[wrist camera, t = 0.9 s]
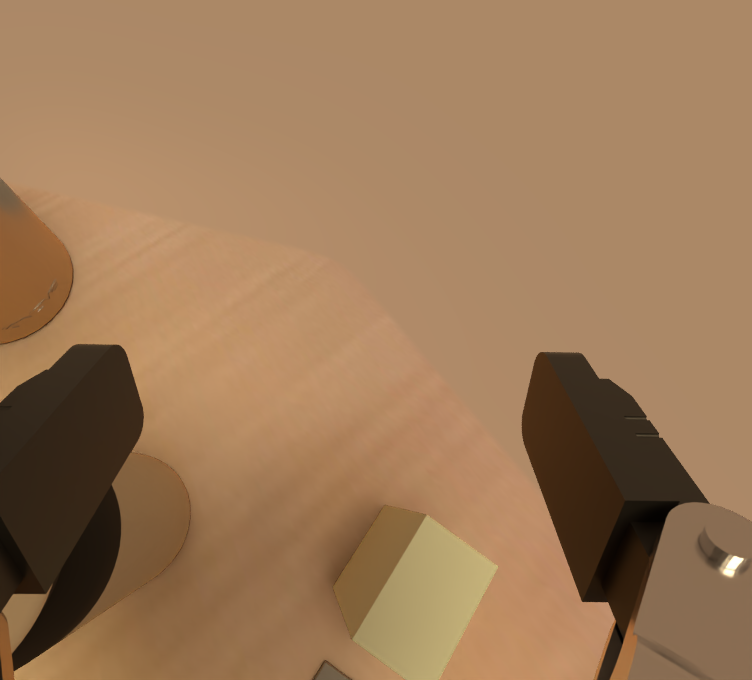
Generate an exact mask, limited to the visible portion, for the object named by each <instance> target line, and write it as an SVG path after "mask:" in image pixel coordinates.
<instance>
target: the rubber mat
mask: <svg viewBox="0 0 752 680" xmlns="http://www.w3.org/2000/svg"><path fill="white" fill-rule="evenodd" d="M314 680H351V679H350V678H349V677H347V676H346V675H345V674H343V673H342V672H341V671H339V670H338V669H337V668H335V667H334V666H332V665H331V664H330V663H328V662H327V661H326V660H325V661H324V663H323V665H322V666H321V668H320V670H319V671H318V673H317V675H316V676H315V678H314Z"/></svg>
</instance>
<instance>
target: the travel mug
mask: <svg viewBox="0 0 752 680" xmlns="http://www.w3.org/2000/svg"><path fill="white" fill-rule="evenodd" d="M189 522H190V503H189V498H188V494H187V491H186V488H185V486H184V484H183V482H182V481H181V479H180V478H179V476H178V475H177V474H176V473H175V472H174V471H173V470H172V469H171V468H170V467H169V466H168V465H166V464H165V463H163V462H162V461H160V460H158V459H156V458H153V457H150V456H147V455H142V454H137V453H132V452H131V453H130V454H129V456H128V458H127V459H126V461H125V463H124V464H123V466H122V468H121V470H120V471H119V473H118V475H117V476H116V478H115V480H114V481H113V483H112V485H111V486H110V488H109V490H108V491H107V493H106V495H105V496H104V498H103V500H102V501H101V503H100V505H99V506H98V508H97V510H96V511H95V513H94V515H93V516H92V518H91V520H90V522H89V523H88V525H87V527H86V528H85V530H84V532H83V533H82V535H81V537H80V538H79V540H78V542H77V543H76V545H75V547H74V548H73V550H72V552H71V553H70V555H69V557H68V558H67V560H66V562H65V563H64V565H63V567H62V568H61V570H60V572H59V574H58V575H57V577H56V579H55V580H54V582H53V584H52V585H51V587H50V589H49V590H48V592H47V594H13V595H12V597H11V598H10V600H9V601H8V603H7V604H6V606H5V607H4V609H3V610H2V612H3V613H4V615H5V617H6V618H7V622H8V628H9V636H10V645H11V653H12V662H13V670H14V671H15V670H17V669H18V668H20V667H22V666H23V665H25V664H27V663H28V662H30V661H31V660H33V659H34V658H36V657H37V656H39V655H40V654H42V653H43V652H45V651H46V650H48V649H49V648H51V647H52V646H54V645H55V644H57V643H58V642H60V641H61V640H63V639H64V638H66V637H67V636H68V635H70V634H71V633H73V632H74V631H76V630H77V629H79V628H80V627H82V626H83V625H85V624H86V623H88V622H89V621H91V620H92V619H94V618H95V617H97V616H98V615H100V614H101V613H103V612H104V611H106V610H107V609H109V608H110V607H112V606H113V605H115V604H116V603H117V602H119V601H120V600H122V599H123V598H125V597H126V596H128V595H129V594H131V593H132V592H134V591H135V590H137V589H138V588H140V587H141V586H143V585H144V584H146V583H147V582H149V581H150V580H152V579H153V578H154V577H156V576H157V575H159V574H160V573H161V572H162V571H163V570H164V569H165V568H166V567H167V566H168V565H169V564H170V563H171V562H172V561H173V559H174V558H175V557H176V555H177V554H178V552H179V550H180V549H181V547H182V545H183V543H184V541H185V538H186V535H187V532H188V528H189Z"/></svg>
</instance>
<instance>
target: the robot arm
mask: <svg viewBox="0 0 752 680" xmlns="http://www.w3.org/2000/svg"><path fill="white" fill-rule="evenodd" d="M72 274H73V268H72V264H71V259H70V256H69V254H68V252H67V250H66V248H65V246H64V245H63V244H62V243H61V241H60V240H59V239H58V238H57V237H56V236H55V235H54V234H53V233H52V232H51V231H50V230H49V228H48V227H47V226H46V225H45V224H44V223H43V222H42V221H41V220H40V219H39V218H38V217H37V216H36V215H35V214H34V213H33V211H32V210H31V209H30V208H29V207H28V206H27V205H26V204H25V203H24V202H23V201H22V200H21V199H20V198H19V197H18V196H17V195H16V194H15V193H14V192H13V191H12V189H11V188H10V187H9V186H8V185H7V184H6V183H5V182H4V181H3V180H2V179H1V178H0V344H2V343H8V342H11V341H14V340H17V339H20V338H23V337H26V336H28V335H29V334H31V333H33V332H35V331H37V330H39V329H40V328H41V327H43V326H44V325H45V324H46V323H48V322H49V321H50V320H51V319H52V318H53V317H54V316H55V315H56V314H57V312H58V311H59V310H60V309H61V308H62V306H63V304H64V302H65V301H66V299H67V297H68V295H69V292H70V288H71V284H72ZM143 418H144V416H143V407H142V404H141V400H140V397H139V394H138V390H137V387H136V384H135V380H134V377H133V374H132V370H131V367H130V364H129V361H128V357H127V354H126V352H125V350H124V349H123V348H122V347H121V346H119V345H96V344H77V345H74V346H72V347H71V348H70V349H69V350H68V351H67V352H66V353H65V354H64V355H63V356H62V357H61V358H60V359H59V360H58V361H57V362H56V363H55V364H54V365H53V366H52V367H51V368H50V369H49V370H45V371H43V372H41V373H39V374H38V375H36V376H34V377H33V378H31V379H29V380H27V381H26V382H24V383H22V384H21V385H19V386H17V387H16V388H15V389H14V390H13V391H12V392H11V393H10V394H9V395H8V396H7V397H6V398H5V399H4V400H3V401H2V402H1V403H0V680H15V679H14V670H13V662H12V653H11V645H10V636H9V628H8V622H7V618H6V617H5V615H4V613H3V612H2V610H3V609H4V607H5V606H6V604H7V603H8V601H9V600H10V598H11V597H12V595H13V594H47V592H48V590H49V589H50V587H51V585H52V584H53V582H54V580H55V579H56V577H57V575H58V574H59V572H60V570H61V568H62V567H63V565H64V563H65V562H66V560H67V558H68V557H69V555H70V553H71V552H72V550H73V548H74V547H75V545H76V543H77V542H78V540H79V538H80V537H81V535H82V533H83V532H84V530H85V528H86V527H87V525H88V523H89V522H90V520H91V518H92V516H93V515H94V513H95V511H96V510H97V508H98V506H99V505H100V503H101V501H102V500H103V498H104V496H105V495H106V493H107V491H108V490H109V488H110V486H111V485H112V483H113V481H114V480H115V478H116V476H117V475H118V473H119V471H120V470H121V468H122V466H123V464H124V463H125V461H126V459H127V458H128V456H129V454H130V453H131V451H132V449H133V448H134V446H135V444H136V443H137V441H138V439H139V437H140V435H141V431H142V427H143ZM522 436H523V441H524V445H525V448H526V451H527V453H528V456H529V459H530V462H531V464H532V467H533V470H534V472H535V475H536V478H537V481H538V483H539V486H540V489H541V491H542V494H543V497H544V500H545V502H546V505H547V508H548V510H549V513H550V516H551V519H552V521H553V524H554V527H555V529H556V532H557V535H558V538H559V540H560V543H561V546H562V548H563V551H564V554H565V557H566V559H567V562H568V565H569V567H570V570H571V573H572V576H573V578H574V581H575V584H576V586H577V589H578V592H579V595H580V597H581V600H582V602H608V603H609V605H610V608H611V610H612V613H613V615H614V617H615V621H614V623H613V625H612V627H611V629H610V632H609V635H608V638H607V641H606V644H605V647H604V650H603V653H602V656H601V659H600V662H599V664H598V667H597V670H596V673H595V676H594V679H593V680H752V522H751V521H750V520H748V519H746V518H744V517H743V516H741V515H739V514H737V513H735V512H733V511H731V510H728V509H725V508H723V507H720V506H716V505H712V504H710V503H709V502H708V501H707V499H706V498H705V497H704V495H703V494H702V492H701V491H700V490H699V488H698V487H697V485H696V484H695V483H694V481H693V480H692V478H691V477H690V476H689V474H688V473H687V472H686V470H685V469H684V467H683V466H682V465H681V463H680V462H679V460H678V459H677V458H676V456H675V455H674V454H673V452H672V451H671V449H670V448H669V447H668V445H667V444H666V443H665V441H664V440H663V438H659V433H658V432H657V430H656V429H655V427H654V426H653V425H652V423H651V422H650V421H649V420H647V419H646V415H645V413H644V412H643V411H642V409H641V408H640V407H639V405H638V404H637V402H636V401H635V400H634V398H633V397H632V396H631V395H630V394H628V393H627V392H626V391H624V390H623V389H621V388H620V387H619V386H618V385H616V384H615V383H613V382H612V381H611V380H609V379H599V378H598V377H597V375H596V374H595V372H594V370H593V369H592V367H591V366H590V364H589V363H588V361H587V360H586V358H585V357H584V356H583V355H582V354H581V353H561V352H557V353H556V352H540V353H539V354H538V355H537V357H536V360H535V362H534V366H533V371H532V375H531V379H530V384H529V388H528V393H527V397H526V401H525V406H524V410H523V415H522Z"/></svg>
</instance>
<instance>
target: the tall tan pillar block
mask: <svg viewBox="0 0 752 680" xmlns="http://www.w3.org/2000/svg"><path fill="white" fill-rule="evenodd" d="M497 568H498V566H497V565H495V564H494V563H493V562H491V561H490V560H489V559H487V558H486V557H484V556H483V555H482V554H480V553H479V552H478V551H476V550H475V549H473V548H472V547H471V546H469V545H468V544H467V543H465V542H464V541H462V540H461V539H460V538H458V537H457V536H456V535H454V534H453V533H451V532H450V531H449V530H447V529H446V528H445V527H443V526H442V525H440V524H439V523H438V522H436V521H435V520H434V519H432V518H431V517H429V516H428V515H426V514H422V513H417V512H413V511H409V510H405V509H400V508H396V507H392V506H388V505H384V507H383V508H382V510H381V512H380V513H379V515H378V516H377V518H376V519H375V521H374V523H373V524H372V526H371V527H370V529H369V530H368V532H367V534H366V535H365V537H364V538H363V540H362V541H361V543H360V545H359V546H358V548H357V549H356V551H355V552H354V554H353V556H352V557H351V559H350V560H349V562H348V564H347V565H346V567H345V568H344V570H343V571H342V573H341V575H340V576H339V578H338V579H337V581H336V582H335V584H334V586H333V590H334V593H335V595H336V598H337V601H338V603H339V606H340V609H341V612H342V614H343V617H344V620H345V622H346V625H347V628H348V630H349V633H350V636H351V639H352V640H353V641H354V642H355V643H357V644H358V645H359V646H361V647H362V648H364V649H365V650H366V651H368V652H369V653H370V654H372V655H373V656H374V657H376V658H377V659H378V660H380V661H381V662H382V663H384V664H385V665H386V666H388V667H389V668H390V669H392V670H393V671H394V672H396V673H397V674H398V675H400V676H401V677H403V678H404V679H405V680H439V679H440V677H441V675H442V673H443V671H444V669H445V667H446V665H447V663H448V662H449V660H450V658H451V656H452V654H453V652H454V650H455V648H456V646H457V644H458V642H459V641H460V639H461V637H462V635H463V633H464V631H465V629H466V627H467V625H468V623H469V621H470V620H471V618H472V616H473V614H474V612H475V610H476V608H477V606H478V604H479V602H480V600H481V599H482V597H483V595H484V593H485V591H486V589H487V587H488V585H489V583H490V581H491V579H492V578H493V576H494V574H495V572H496V570H497Z"/></svg>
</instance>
